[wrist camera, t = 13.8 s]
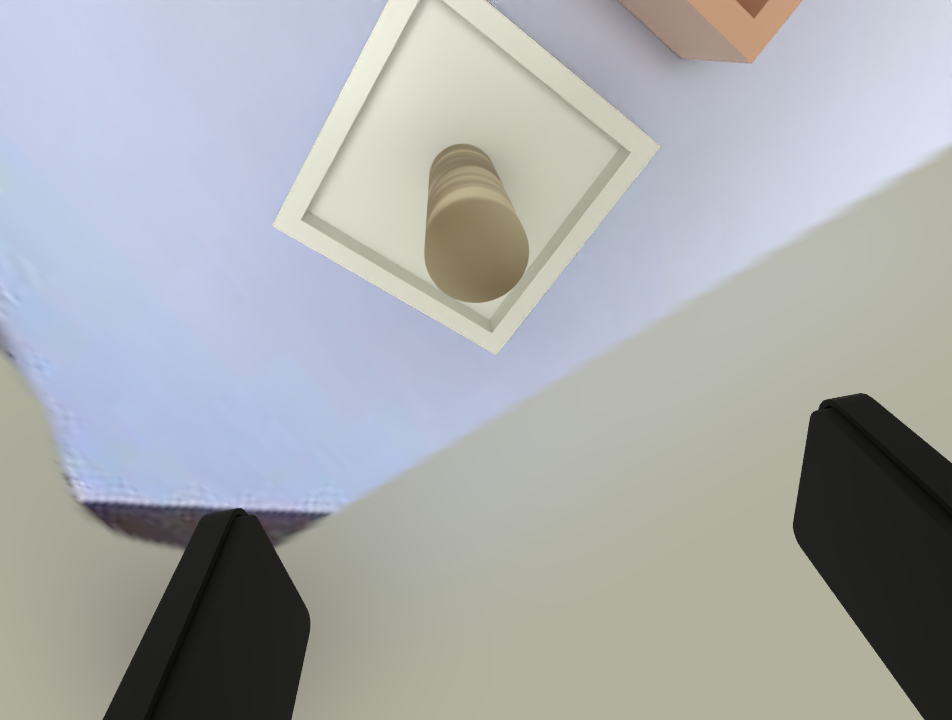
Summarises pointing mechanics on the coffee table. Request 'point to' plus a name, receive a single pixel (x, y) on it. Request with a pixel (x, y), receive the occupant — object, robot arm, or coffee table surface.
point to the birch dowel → (472, 228)
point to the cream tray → (460, 122)
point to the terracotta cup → (713, 25)
